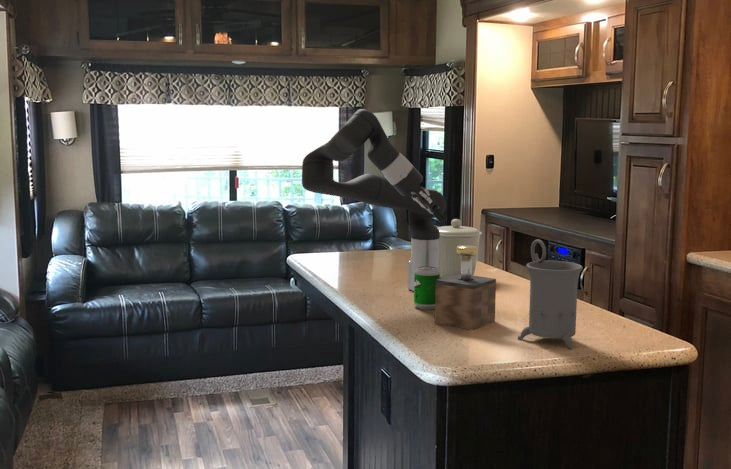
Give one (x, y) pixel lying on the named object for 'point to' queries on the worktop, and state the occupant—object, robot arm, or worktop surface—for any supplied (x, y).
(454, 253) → the canister
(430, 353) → the worktop surface
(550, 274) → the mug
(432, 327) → the worktop surface
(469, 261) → the brass round peg
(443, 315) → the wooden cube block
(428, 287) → the soda can
